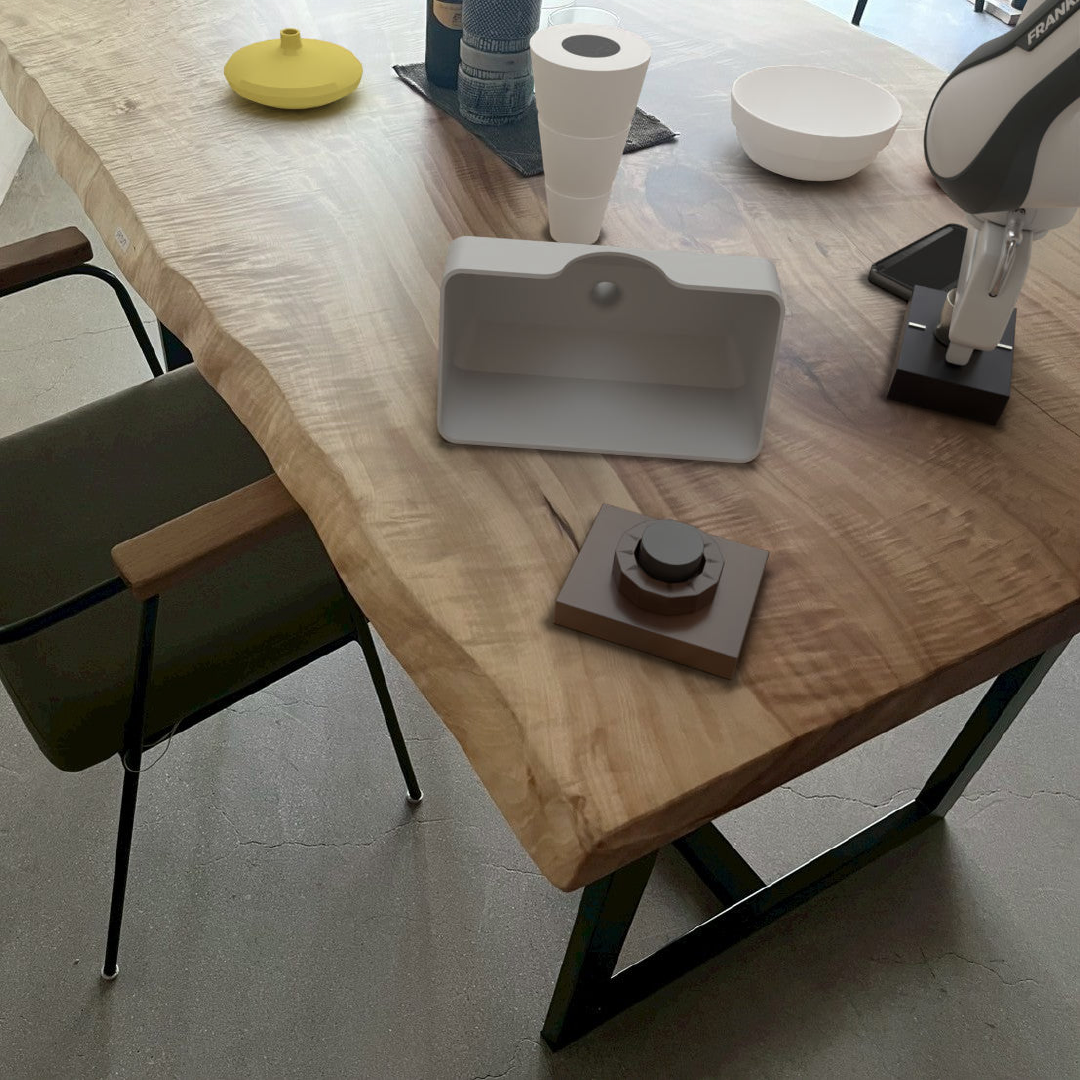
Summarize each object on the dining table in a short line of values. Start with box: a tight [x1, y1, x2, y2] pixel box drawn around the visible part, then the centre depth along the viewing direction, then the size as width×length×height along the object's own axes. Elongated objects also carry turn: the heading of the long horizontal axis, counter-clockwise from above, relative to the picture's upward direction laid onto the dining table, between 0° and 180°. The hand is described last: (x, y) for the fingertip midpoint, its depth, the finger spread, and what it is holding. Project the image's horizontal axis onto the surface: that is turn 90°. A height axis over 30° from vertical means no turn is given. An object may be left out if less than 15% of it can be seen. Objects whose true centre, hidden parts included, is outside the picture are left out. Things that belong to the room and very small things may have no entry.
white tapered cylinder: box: [529, 22, 653, 245], centre depth 97 cm, size 11×11×18 cm
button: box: [639, 519, 704, 583], centre depth 67 cm, size 4×4×2 cm
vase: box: [223, 27, 364, 110], centre depth 120 cm, size 16×16×7 cm
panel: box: [886, 285, 1018, 426], centre depth 90 cm, size 14×9×3 cm, turn 160°
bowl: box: [730, 64, 903, 182], centre depth 115 cm, size 18×18×7 cm
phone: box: [867, 222, 968, 302], centre depth 102 cm, size 8×1×15 cm
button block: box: [553, 502, 771, 680], centre depth 69 cm, size 12×10×4 cm
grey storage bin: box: [436, 235, 786, 464], centre depth 82 cm, size 25×16×12 cm, turn 88°
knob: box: [934, 288, 979, 351], centre depth 88 cm, size 4×4×4 cm
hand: (959, 334), depth 89 cm, fingers open, 6 cm apart
